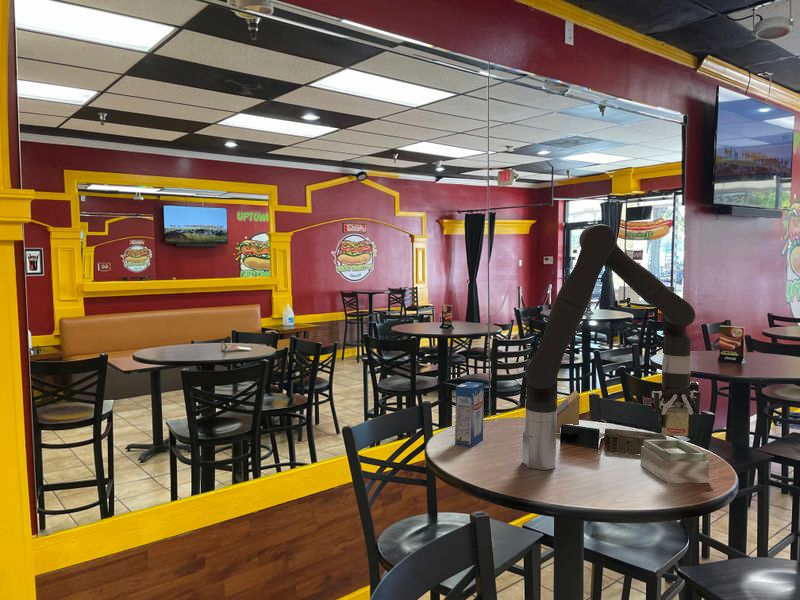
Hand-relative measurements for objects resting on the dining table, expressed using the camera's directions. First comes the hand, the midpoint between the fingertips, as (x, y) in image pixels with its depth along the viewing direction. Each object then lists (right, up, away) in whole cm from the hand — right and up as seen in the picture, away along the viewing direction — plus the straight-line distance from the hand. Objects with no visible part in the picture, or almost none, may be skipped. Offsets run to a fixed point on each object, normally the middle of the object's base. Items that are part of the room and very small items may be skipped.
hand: (674, 426), depth 164 cm
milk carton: (-56, -12, +30) cm, 65 cm away
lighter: (0, -3, 0) cm, 3 cm away
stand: (0, -14, +1) cm, 14 cm away
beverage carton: (-3, -13, +21) cm, 25 cm away
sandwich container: (-22, -12, +45) cm, 52 cm away
